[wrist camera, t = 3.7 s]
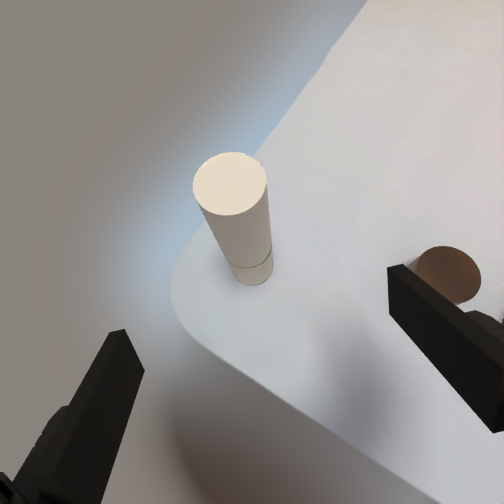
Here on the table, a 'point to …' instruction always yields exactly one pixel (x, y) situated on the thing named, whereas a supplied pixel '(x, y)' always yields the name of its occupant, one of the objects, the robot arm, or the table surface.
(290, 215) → the table surface
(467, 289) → the disc
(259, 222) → the tube
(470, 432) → the table surface
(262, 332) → the table surface
